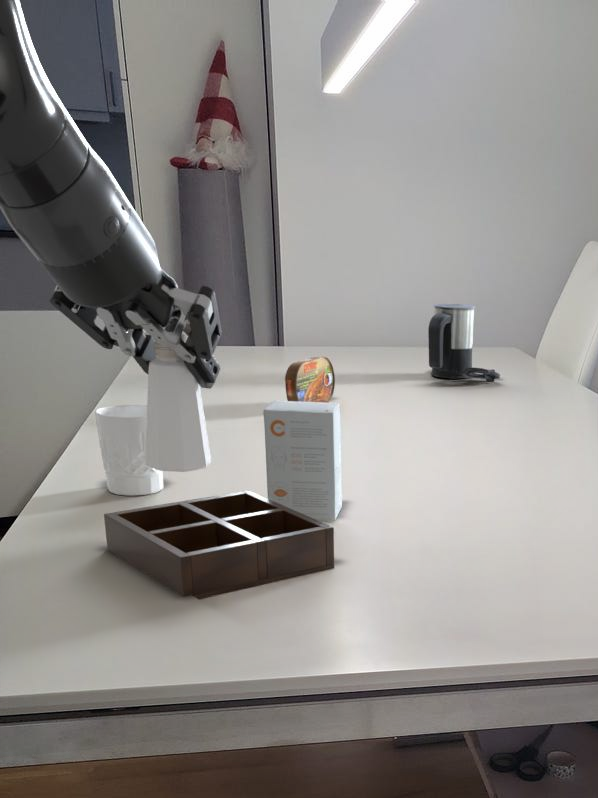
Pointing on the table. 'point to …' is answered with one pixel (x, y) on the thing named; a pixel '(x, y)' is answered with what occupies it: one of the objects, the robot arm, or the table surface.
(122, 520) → the divided wooden tray
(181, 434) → the salt shaker
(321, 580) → the table surface
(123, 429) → the white cup
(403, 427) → the table surface
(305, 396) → the tin
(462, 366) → the milk frother
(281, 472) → the small box
